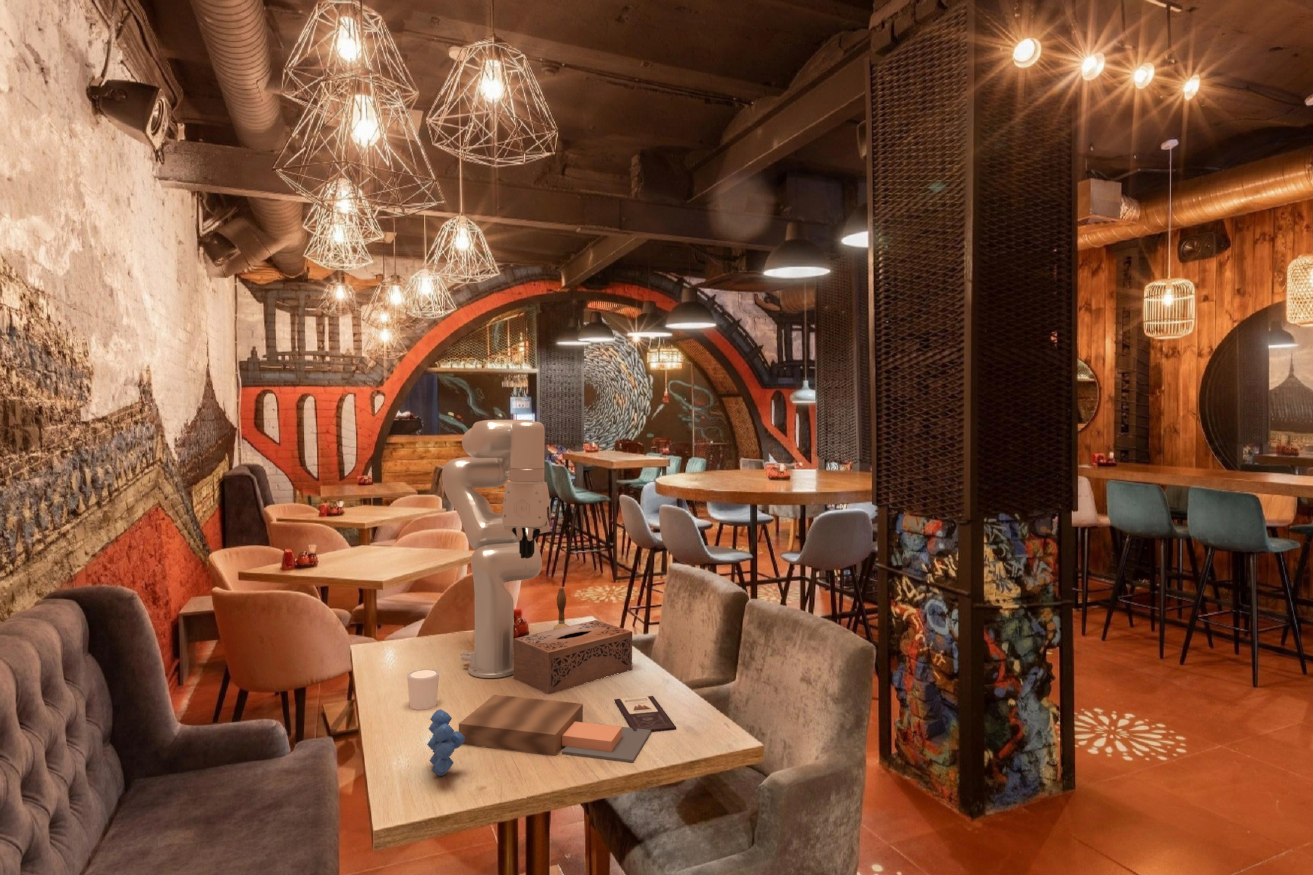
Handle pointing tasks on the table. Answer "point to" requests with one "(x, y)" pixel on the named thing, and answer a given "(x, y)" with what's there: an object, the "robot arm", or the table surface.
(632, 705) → the chocolate bar
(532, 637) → the tissue box cover
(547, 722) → the stand
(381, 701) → the table surface
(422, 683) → the pale tapered cup
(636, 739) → the mat
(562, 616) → the hand bell
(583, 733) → the orange flat block
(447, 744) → the grapes
